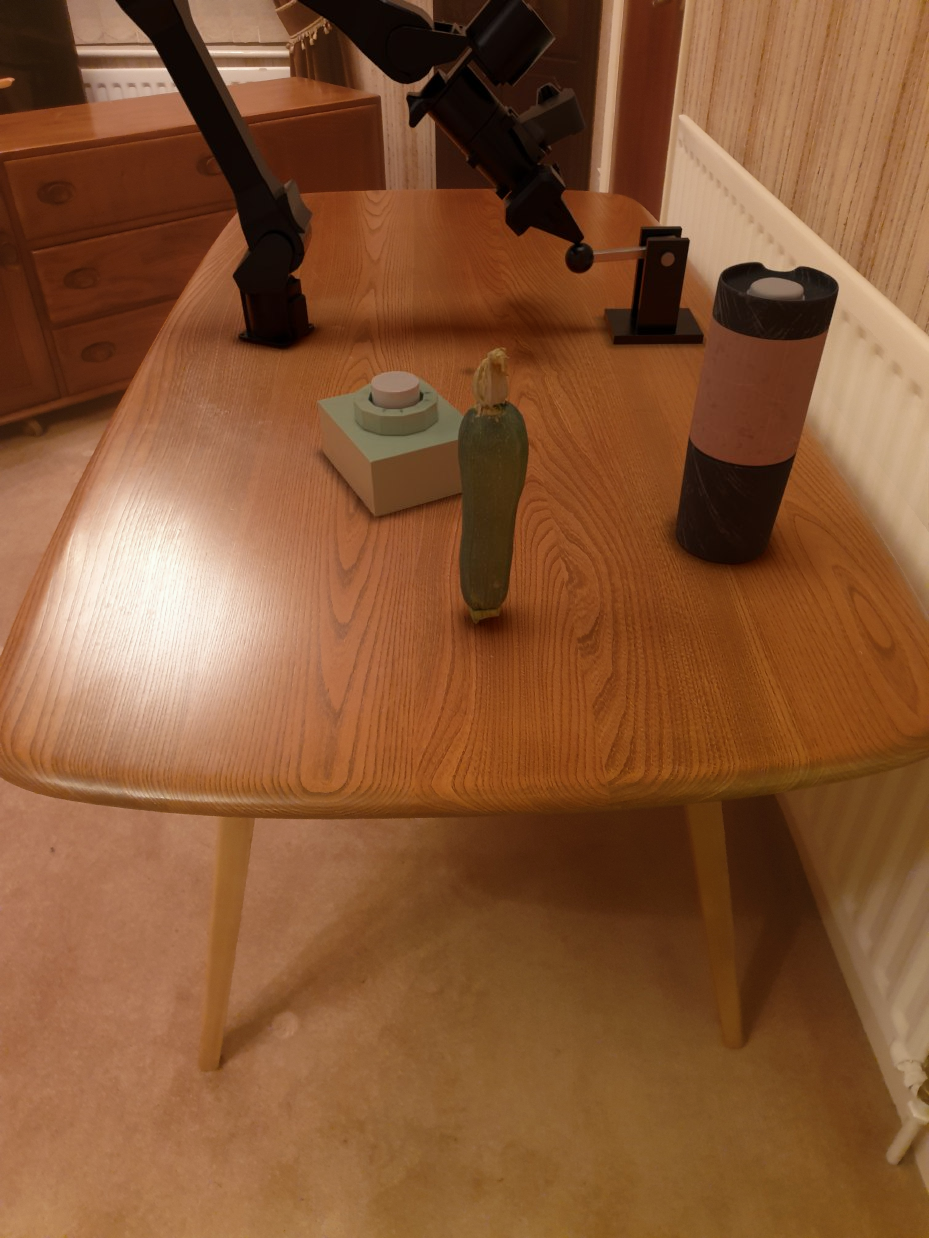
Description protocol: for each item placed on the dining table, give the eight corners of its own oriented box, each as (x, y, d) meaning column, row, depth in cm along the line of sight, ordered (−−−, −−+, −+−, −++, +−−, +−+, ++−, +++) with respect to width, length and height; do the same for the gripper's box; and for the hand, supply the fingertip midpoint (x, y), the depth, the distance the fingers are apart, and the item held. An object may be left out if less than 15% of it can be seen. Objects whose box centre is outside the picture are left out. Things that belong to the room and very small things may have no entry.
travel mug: (714, 577, 64) (775, 310, 51) (652, 526, 69) (692, 272, 56) (792, 549, 67) (868, 288, 54) (726, 501, 72) (781, 253, 59)
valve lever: (566, 279, 94) (566, 249, 92) (563, 269, 97) (563, 239, 95) (677, 269, 94) (679, 238, 92) (671, 259, 96) (673, 229, 94)
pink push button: (364, 396, 73) (363, 376, 72) (407, 386, 74) (406, 367, 73) (383, 416, 70) (382, 396, 69) (428, 405, 71) (427, 385, 70)
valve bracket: (613, 346, 97) (624, 245, 90) (603, 318, 103) (613, 222, 96) (702, 345, 97) (720, 244, 90) (687, 317, 103) (703, 221, 96)
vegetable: (457, 595, 63) (453, 325, 50) (516, 592, 63) (528, 322, 50) (462, 635, 59) (459, 357, 46) (524, 632, 60) (539, 354, 47)
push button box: (323, 453, 79) (314, 381, 74) (422, 428, 82) (419, 357, 78) (375, 517, 71) (368, 441, 66) (482, 487, 74) (483, 412, 70)
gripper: (547, 73, 75) (656, 208, 82) (532, 43, 89) (626, 160, 97) (457, 173, 80) (568, 292, 87) (457, 130, 94) (552, 235, 102)
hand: (580, 240), depth 93 cm, fingers closed, pressing on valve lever
